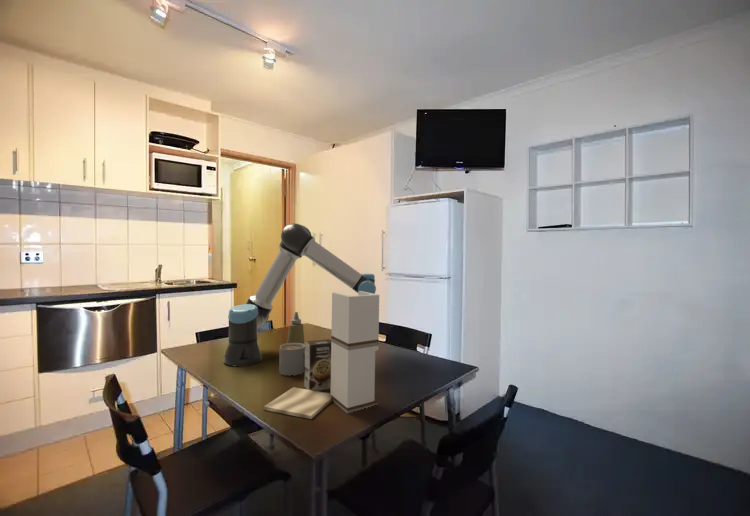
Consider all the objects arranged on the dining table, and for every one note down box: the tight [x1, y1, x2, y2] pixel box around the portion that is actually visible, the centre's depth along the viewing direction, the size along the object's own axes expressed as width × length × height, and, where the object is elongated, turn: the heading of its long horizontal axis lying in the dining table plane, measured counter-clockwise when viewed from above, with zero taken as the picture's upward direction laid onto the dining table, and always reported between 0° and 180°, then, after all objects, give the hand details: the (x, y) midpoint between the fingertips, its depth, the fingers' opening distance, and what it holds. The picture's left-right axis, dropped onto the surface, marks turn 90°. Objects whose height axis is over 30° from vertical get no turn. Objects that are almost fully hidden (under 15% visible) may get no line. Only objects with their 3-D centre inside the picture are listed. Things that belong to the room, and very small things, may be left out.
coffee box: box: [303, 338, 331, 392], centre depth 123 cm, size 9×6×16 cm
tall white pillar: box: [330, 291, 380, 414], centre depth 111 cm, size 11×11×35 cm
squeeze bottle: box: [286, 311, 305, 345], centre depth 169 cm, size 8×8×18 cm
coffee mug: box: [278, 343, 306, 377], centre depth 138 cm, size 13×10×10 cm
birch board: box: [263, 387, 333, 420], centre depth 110 cm, size 16×16×1 cm
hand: (335, 319), depth 134 cm, fingers closed
